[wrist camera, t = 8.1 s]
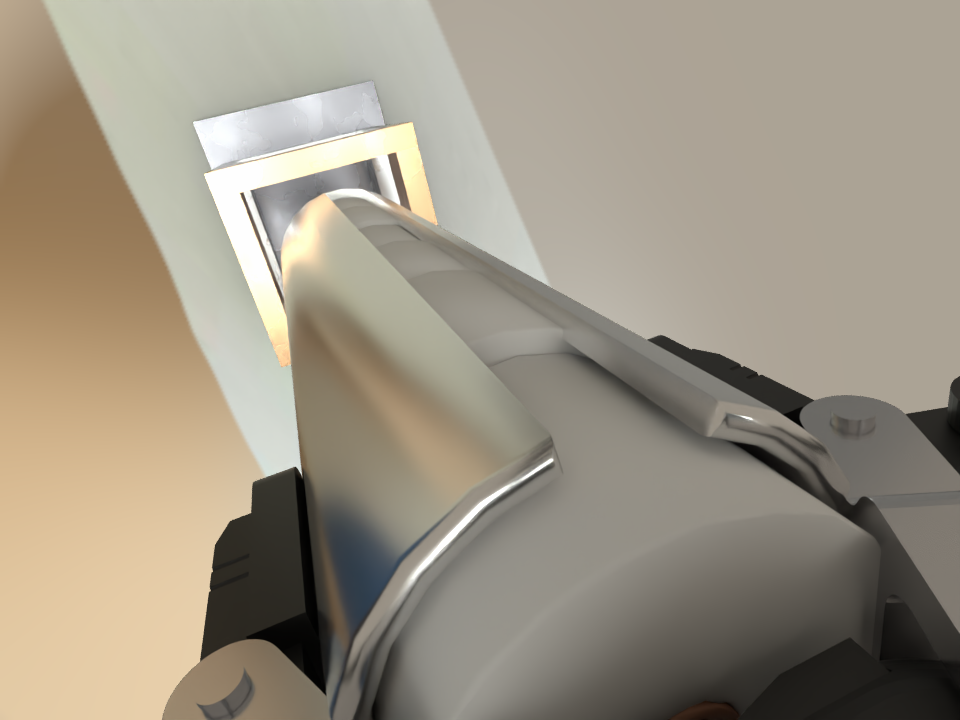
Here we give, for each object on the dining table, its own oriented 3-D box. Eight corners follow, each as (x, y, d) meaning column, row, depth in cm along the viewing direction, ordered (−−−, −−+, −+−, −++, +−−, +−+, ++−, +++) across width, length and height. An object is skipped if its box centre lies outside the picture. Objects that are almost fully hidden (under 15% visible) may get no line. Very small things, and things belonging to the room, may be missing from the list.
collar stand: (194, 122, 39) (160, 115, 27) (370, 81, 41) (412, 58, 29) (281, 342, 45) (284, 415, 33) (428, 295, 48) (481, 348, 36)
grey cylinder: (442, 222, 28) (1054, 536, 6) (390, 343, 30) (748, 958, 8) (310, 162, 26) (573, 345, 4) (259, 298, 27) (221, 1059, 5)
